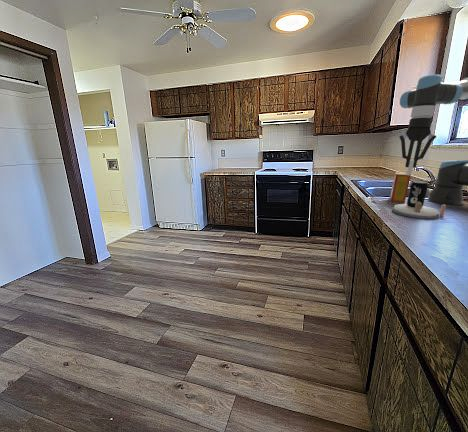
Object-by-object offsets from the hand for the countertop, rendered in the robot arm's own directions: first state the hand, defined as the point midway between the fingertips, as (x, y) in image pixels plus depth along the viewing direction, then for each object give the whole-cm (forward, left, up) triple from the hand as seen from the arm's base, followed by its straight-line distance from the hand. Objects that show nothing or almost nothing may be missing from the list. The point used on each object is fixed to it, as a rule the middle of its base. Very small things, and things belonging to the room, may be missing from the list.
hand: (408, 174), depth 108 cm
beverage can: (-12, -4, -16) cm, 20 cm away
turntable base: (-9, 0, -19) cm, 21 cm away
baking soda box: (-24, -23, -19) cm, 38 cm away
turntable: (-9, 0, -17) cm, 20 cm away
